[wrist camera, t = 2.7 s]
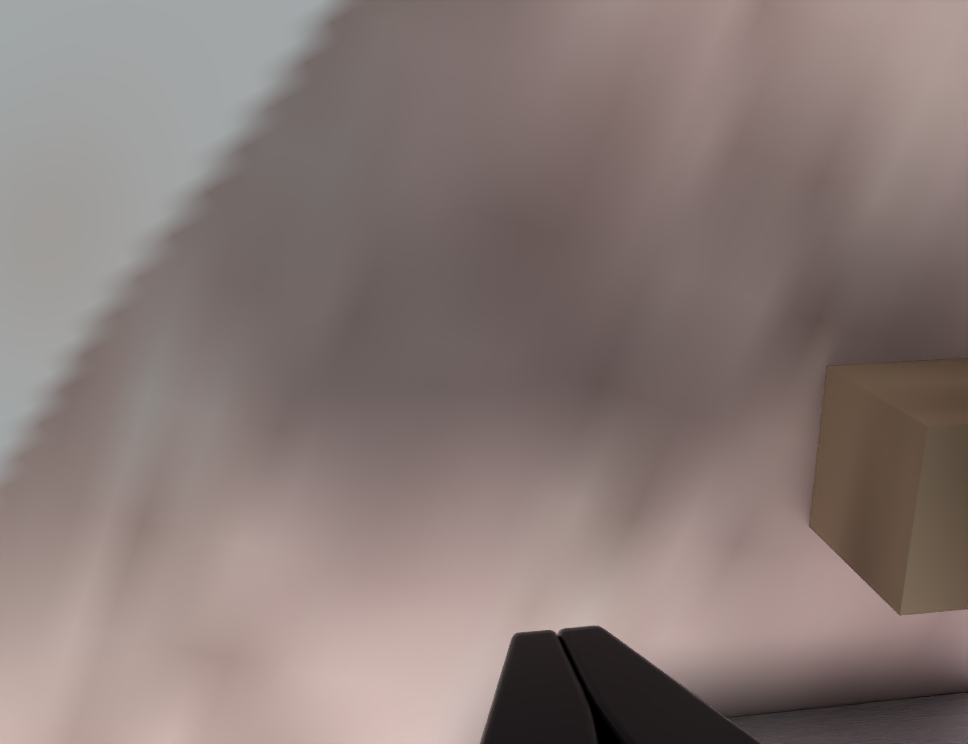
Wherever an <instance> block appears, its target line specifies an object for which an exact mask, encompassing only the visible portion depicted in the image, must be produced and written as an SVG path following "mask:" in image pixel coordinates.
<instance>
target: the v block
mask: <svg viewBox="0 0 968 744" xmlns="http://www.w3.org/2000/svg"><path fill="white" fill-rule="evenodd" d="M727 719H729V720H730V721H732V722H733V723H734V724H736V725H737V726H739V727H740V728H741V729H743V730H744V731H745V732H747V733H748V734H750V735H751V736H752V737H754V738H755V739H756V740H758V741H759V742H761V743H762V744H968V692H967V693H957V694H948V695H938V696H929V697H920V698H910V699H901V700H891V701H882V702H873V703H863V704H854V705H845V706H835V707H826V708H816V709H807V710H798V711H788V712H779V713H769V714H760V715H751V716H741V717H732V718H727Z"/></svg>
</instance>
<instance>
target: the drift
mask: <svg viewBox="0 0 968 744" xmlns="http://www.w3.org/2000/svg"><path fill="white" fill-rule="evenodd" d="M809 527H810V528H811V529H812V530H813V531H814V532H815V533H816V534H817V535H818V536H819V537H820V538H821V539H823V540H824V541H825V542H826V543H827V544H828V545H829V546H830V547H831V548H832V549H833V550H834V551H835V552H836V553H837V554H838V555H839V556H840V557H841V558H842V559H843V560H844V561H845V562H846V563H847V564H848V565H849V566H850V567H851V568H852V569H853V570H854V571H855V572H856V573H857V574H858V575H859V576H860V577H861V578H862V579H863V580H864V581H865V582H866V583H867V584H868V585H869V586H870V587H871V588H872V589H873V590H874V591H875V592H876V593H877V594H878V595H879V596H880V597H881V598H882V599H883V600H884V601H886V602H887V603H888V604H889V605H890V606H891V607H892V608H893V609H894V610H895V611H896V612H897V613H898V614H899V615H910V614H921V613H931V612H941V611H952V610H962V609H968V358H957V359H940V360H923V361H906V362H890V363H873V364H856V365H839V366H827V369H826V378H825V387H824V396H823V405H822V414H821V424H820V433H819V442H818V451H817V460H816V469H815V478H814V487H813V497H812V506H811V515H810V524H809Z"/></svg>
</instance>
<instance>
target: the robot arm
mask: <svg viewBox="0 0 968 744" xmlns="http://www.w3.org/2000/svg"><path fill="white" fill-rule="evenodd" d="M480 744H762V743H761V742H759V741H758V740H756V739H755V738H754V737H752V736H751V735H750V734H748V733H747V732H745V731H744V730H743V729H741V728H740V727H739V726H737V725H736V724H734V723H733V722H732V721H730V720H729V719H727V718H726V717H725V716H723V715H722V714H721V713H719V712H718V711H716V710H715V709H714V708H712V707H711V706H710V705H708V704H707V703H705V702H704V701H703V700H701V699H700V698H699V697H697V696H696V695H694V694H693V693H692V692H690V691H689V690H688V689H686V688H685V687H683V686H682V685H681V684H679V683H678V682H677V681H675V680H674V679H672V678H671V677H670V676H668V675H667V674H666V673H664V672H663V671H661V670H660V669H659V668H657V667H656V666H655V665H653V664H652V663H650V662H649V661H648V660H646V659H645V658H644V657H642V656H641V655H639V654H638V653H637V652H635V651H634V650H633V649H631V648H630V647H628V646H627V645H626V644H624V643H623V642H622V641H620V640H619V639H617V638H616V637H615V636H613V635H612V634H611V633H609V632H608V631H606V630H605V629H603V628H602V627H600V626H585V627H575V628H565V629H561V630H560V631H559V632H558V634H556V633H555V632H554V631H552V630H543V631H532V632H521V633H516V634H515V635H514V636H513V637H512V639H511V642H510V645H509V649H508V652H507V655H506V659H505V662H504V665H503V669H502V672H501V675H500V679H499V682H498V685H497V689H496V692H495V695H494V699H493V702H492V705H491V708H490V712H489V715H488V718H487V722H486V725H485V728H484V732H483V735H482V738H481V742H480Z"/></svg>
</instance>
